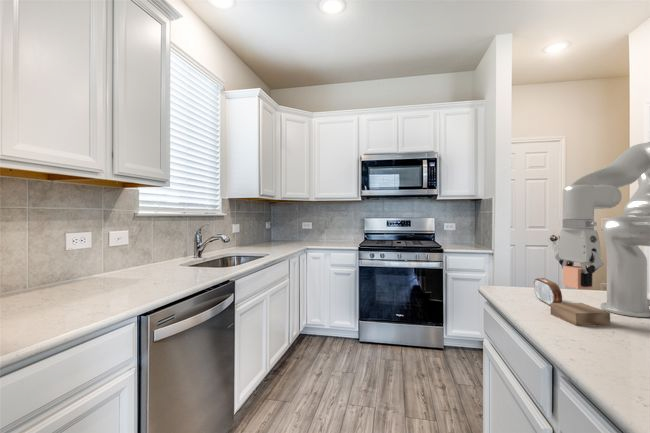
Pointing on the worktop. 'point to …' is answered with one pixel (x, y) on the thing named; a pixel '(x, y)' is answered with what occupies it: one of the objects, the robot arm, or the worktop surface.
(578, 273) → the salmon pink block
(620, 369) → the worktop surface
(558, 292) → the tin
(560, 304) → the walnut base
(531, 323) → the worktop surface
